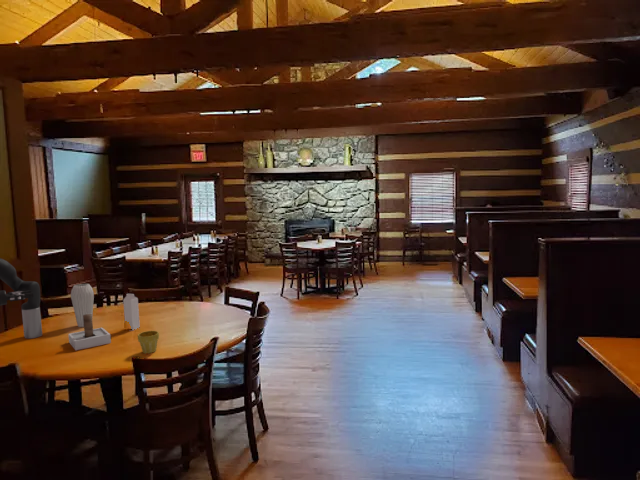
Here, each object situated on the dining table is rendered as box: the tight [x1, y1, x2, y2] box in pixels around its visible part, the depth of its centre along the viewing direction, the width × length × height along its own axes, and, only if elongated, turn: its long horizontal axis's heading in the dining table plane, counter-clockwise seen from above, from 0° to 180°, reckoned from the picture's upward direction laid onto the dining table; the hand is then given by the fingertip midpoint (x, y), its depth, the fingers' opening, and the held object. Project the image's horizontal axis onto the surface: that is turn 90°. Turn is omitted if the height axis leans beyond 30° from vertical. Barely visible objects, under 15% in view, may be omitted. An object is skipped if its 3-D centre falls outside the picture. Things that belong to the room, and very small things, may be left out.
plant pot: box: [137, 330, 160, 354], centre depth 249 cm, size 10×10×10 cm
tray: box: [67, 327, 112, 351], centre depth 267 cm, size 18×18×5 cm
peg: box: [83, 314, 94, 338], centre depth 266 cm, size 4×4×16 cm
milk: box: [122, 293, 141, 331], centre depth 291 cm, size 6×6×22 cm
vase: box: [70, 283, 95, 328], centre depth 301 cm, size 13×13×26 cm
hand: (32, 293), depth 249 cm, fingers open, 8 cm apart
